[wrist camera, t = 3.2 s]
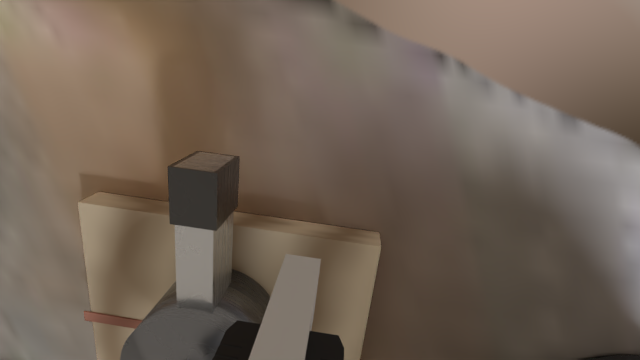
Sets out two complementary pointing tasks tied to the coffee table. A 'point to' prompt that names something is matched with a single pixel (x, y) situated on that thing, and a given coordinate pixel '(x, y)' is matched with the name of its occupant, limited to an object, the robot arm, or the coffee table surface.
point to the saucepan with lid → (199, 267)
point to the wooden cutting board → (247, 257)
